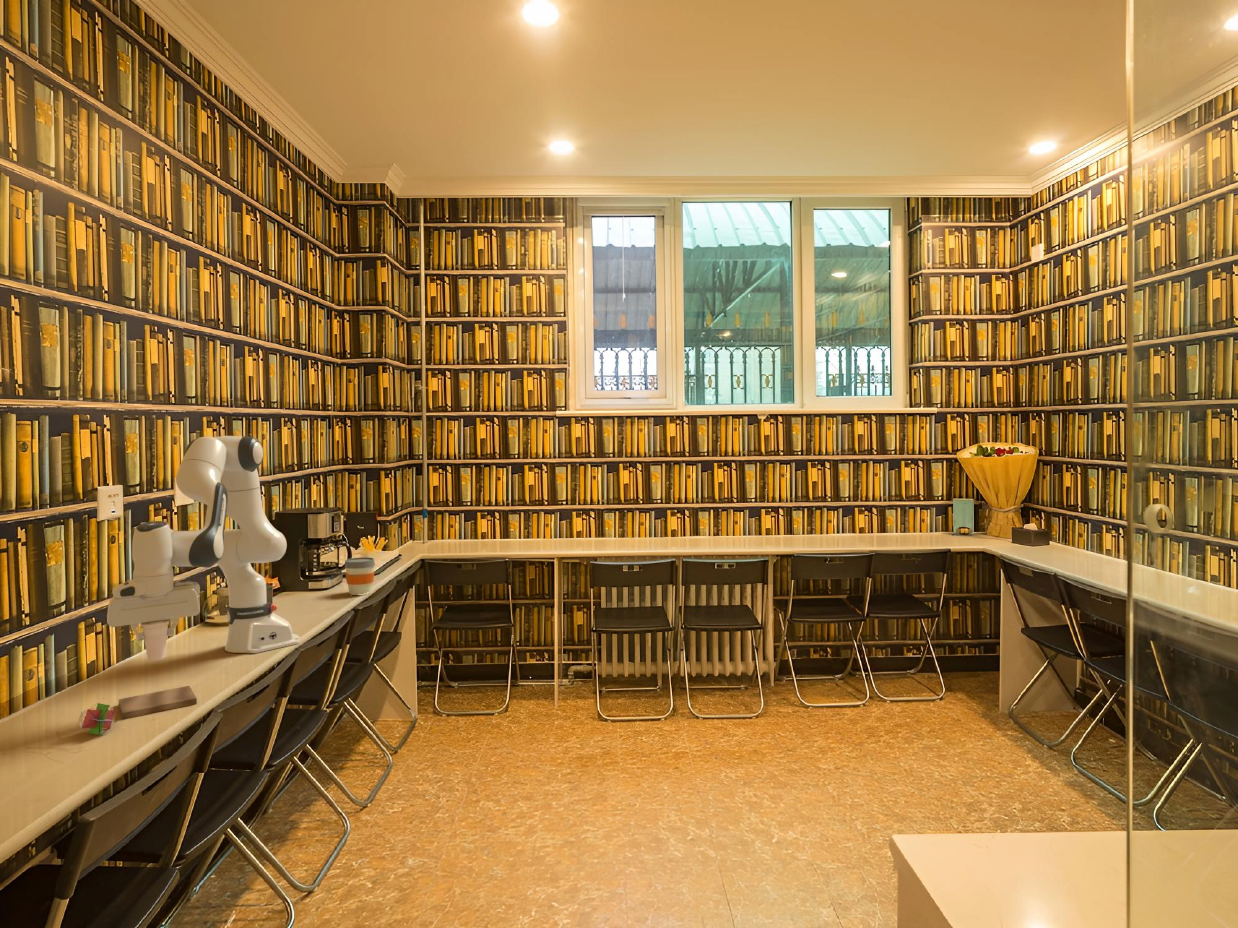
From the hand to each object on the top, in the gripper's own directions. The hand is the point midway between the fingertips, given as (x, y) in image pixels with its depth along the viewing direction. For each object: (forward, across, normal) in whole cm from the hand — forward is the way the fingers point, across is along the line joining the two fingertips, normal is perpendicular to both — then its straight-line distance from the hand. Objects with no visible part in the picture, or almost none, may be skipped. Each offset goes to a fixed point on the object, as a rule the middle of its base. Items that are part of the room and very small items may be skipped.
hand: (155, 637), depth 189 cm
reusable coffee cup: (+18, -86, -98) cm, 132 cm away
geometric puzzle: (+18, +13, +12) cm, 25 cm away
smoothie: (+6, 0, 0) cm, 6 cm away
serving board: (+18, 0, 0) cm, 18 cm away
